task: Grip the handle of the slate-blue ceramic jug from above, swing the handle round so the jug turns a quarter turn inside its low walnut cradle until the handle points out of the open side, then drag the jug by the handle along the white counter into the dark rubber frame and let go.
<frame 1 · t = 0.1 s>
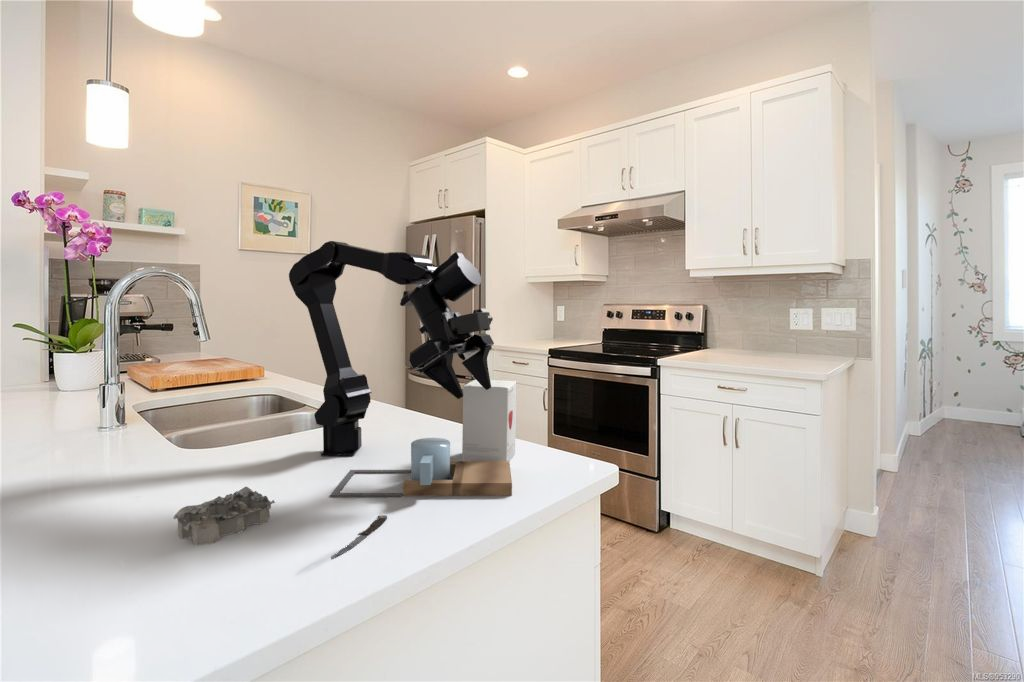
hand: (475, 393, 89), 15 cm above the counter, tool tilted 30°, fingers open, 9 cm apart
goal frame: (377, 483, 87), on the counter
cradle: (430, 483, 87), on the counter
knife: (347, 547, 66), on the counter
egg carton: (225, 529, 70), on the counter
supplement box: (489, 458, 102), on the counter
jug: (429, 467, 85), in the cradle
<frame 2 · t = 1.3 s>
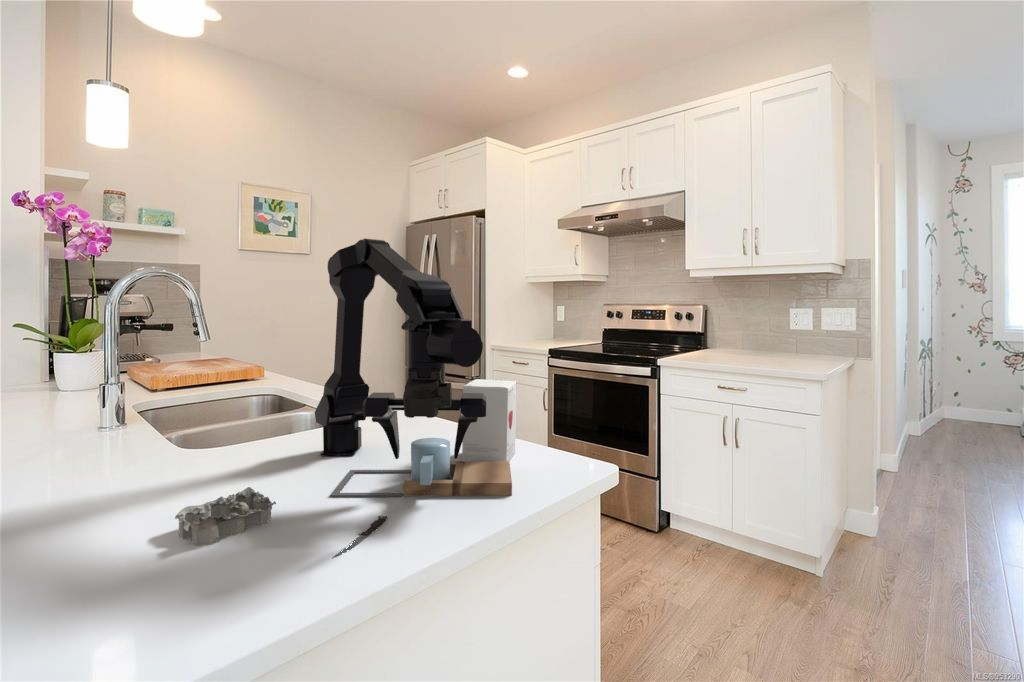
hand: (426, 458, 82), 6 cm above the counter, tool pointing down, fingers open, 9 cm apart
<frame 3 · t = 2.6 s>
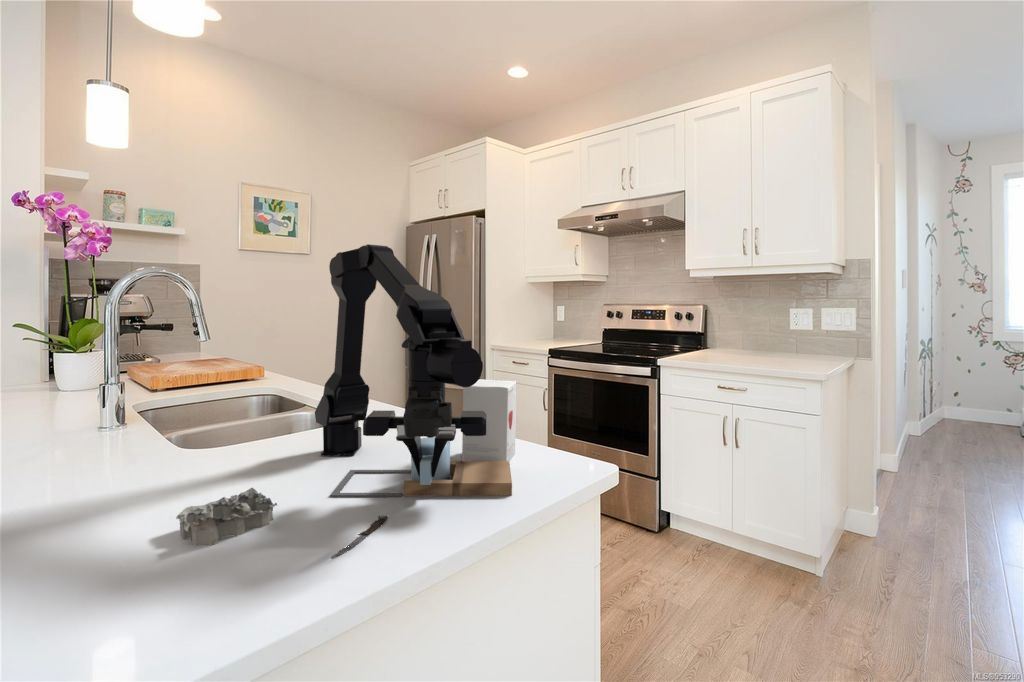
hand: (426, 476, 82), 3 cm above the counter, tool pointing down, fingers closed on jug, 2 cm apart
jug: (429, 467, 85), in the cradle, touching gripper
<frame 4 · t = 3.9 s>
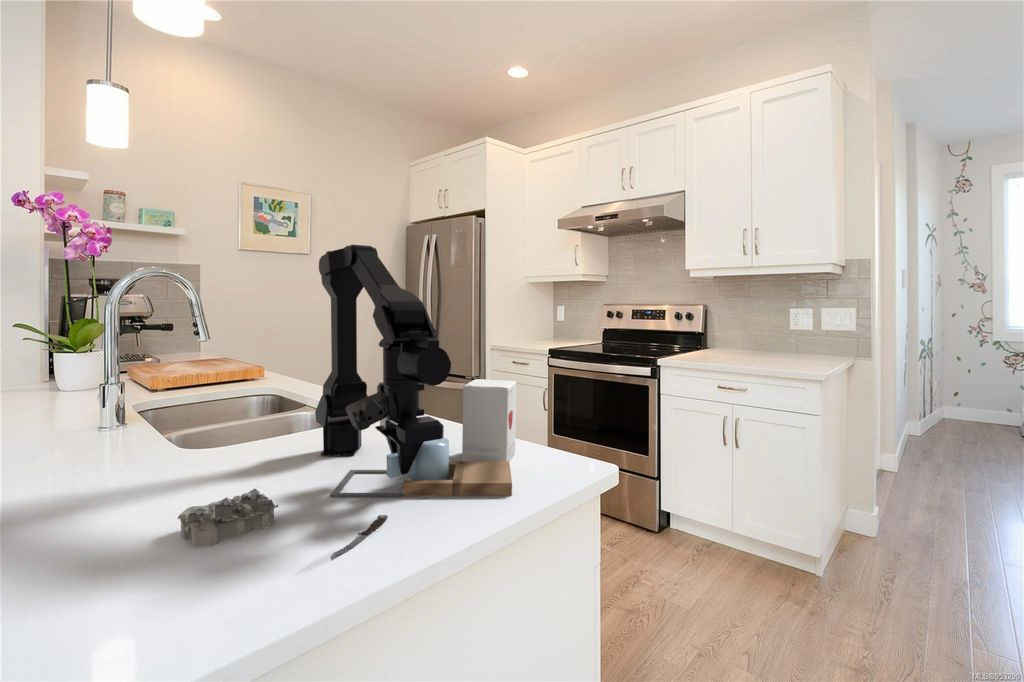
hand: (401, 471, 84), 3 cm above the counter, tool pointing down, fingers closed on jug
jug: (418, 464, 86), on the counter, touching gripper
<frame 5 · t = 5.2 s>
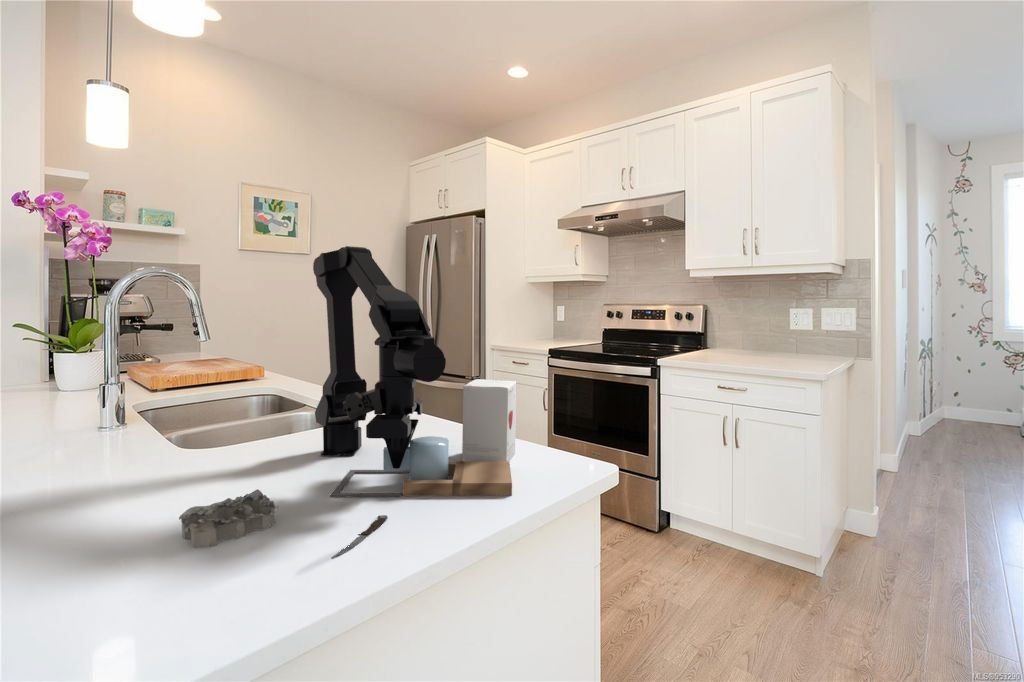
hand: (397, 466, 87), 3 cm above the counter, tool pointing down, fingers closed on jug
jug: (416, 462, 87), in the cradle, touching gripper
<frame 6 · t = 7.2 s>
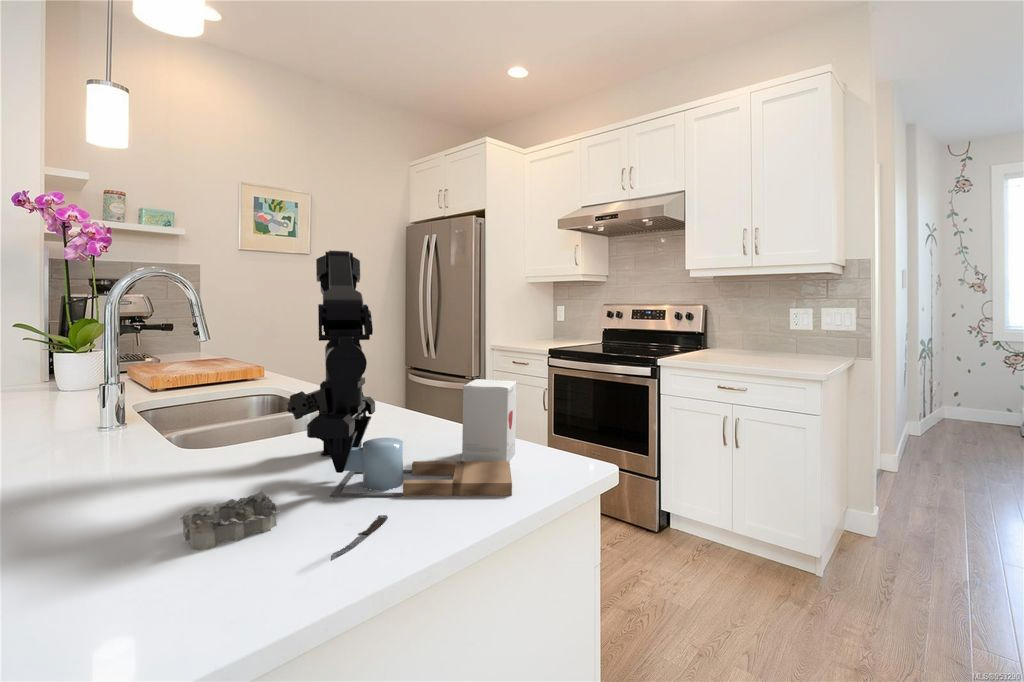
hand: (345, 465, 86), 3 cm above the counter, tool pointing down, fingers open, 6 cm apart
jug: (370, 463, 86), on the counter
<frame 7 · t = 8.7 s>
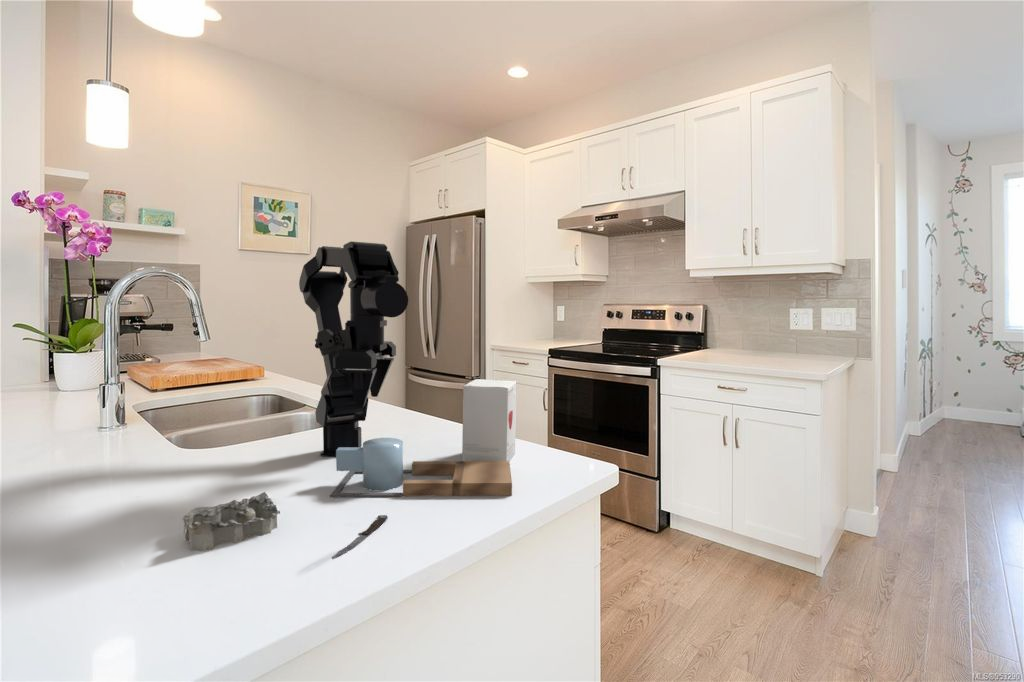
hand: (367, 401, 92), 13 cm above the counter, tool pointing down, fingers open, 9 cm apart
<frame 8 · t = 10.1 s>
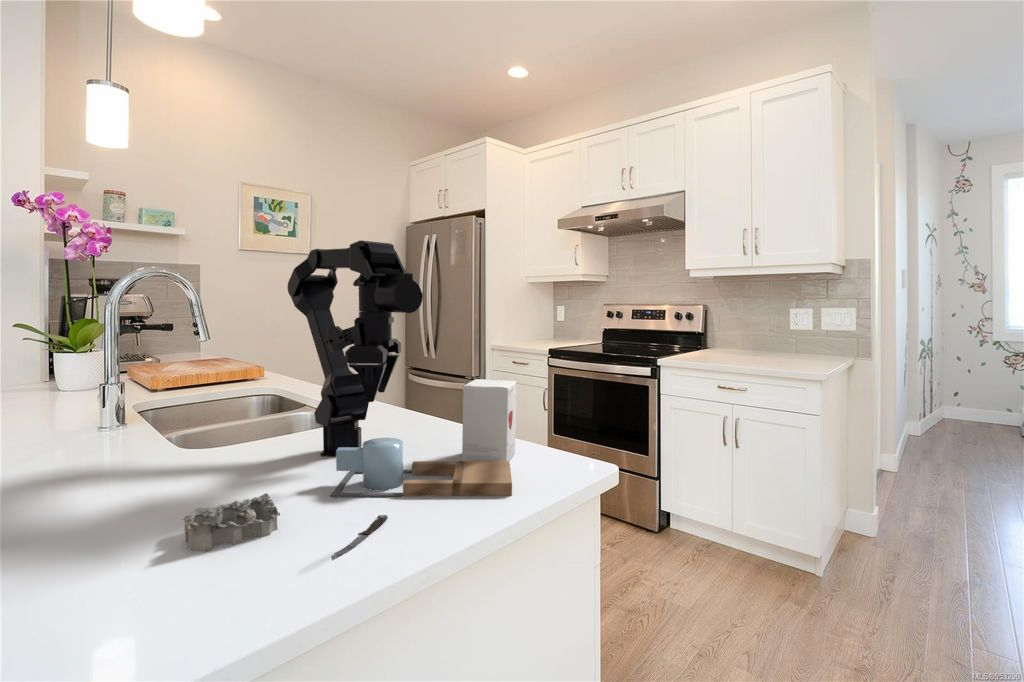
hand: (376, 396, 95), 13 cm above the counter, tool pointing down, fingers open, 9 cm apart
at the end: jug inside the target area on the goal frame (1.5 cm from its centre), point 3.4 cm above the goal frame's base; jug tilted 0°; the gripper is holding nothing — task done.
